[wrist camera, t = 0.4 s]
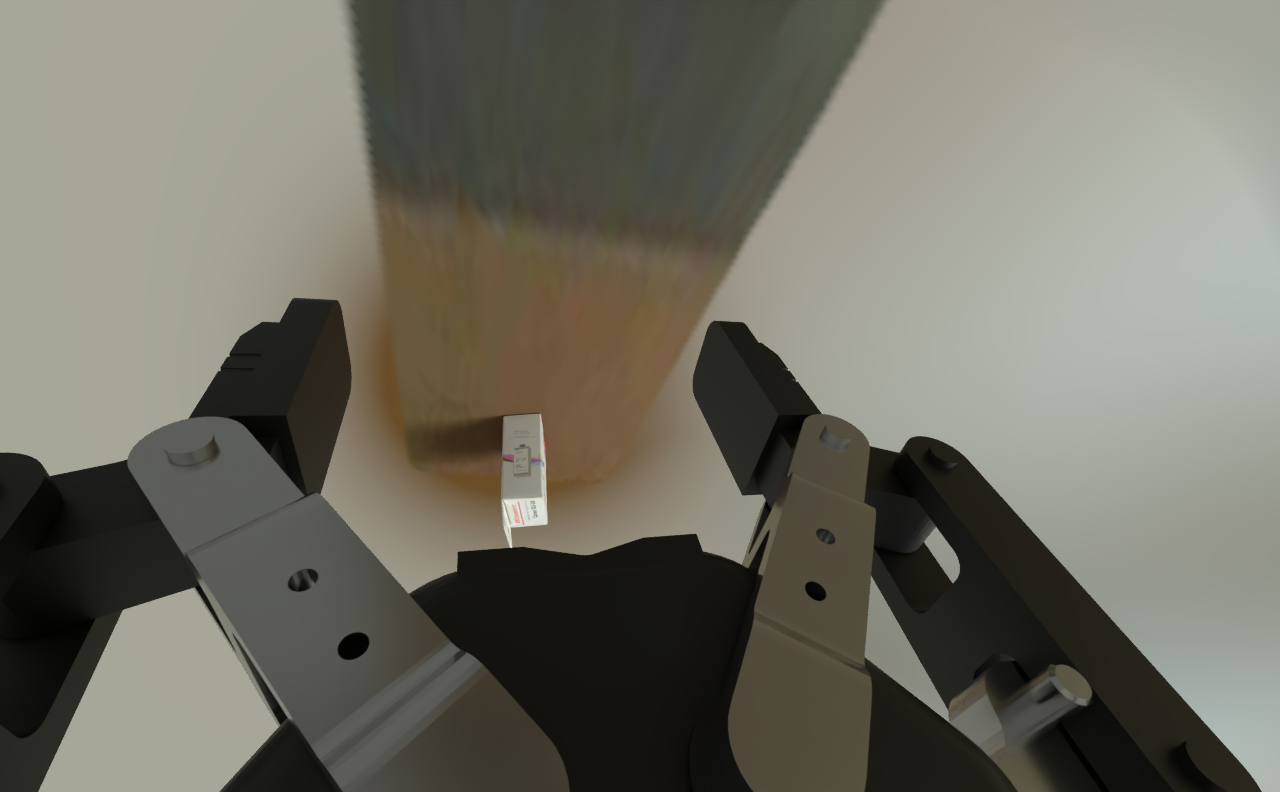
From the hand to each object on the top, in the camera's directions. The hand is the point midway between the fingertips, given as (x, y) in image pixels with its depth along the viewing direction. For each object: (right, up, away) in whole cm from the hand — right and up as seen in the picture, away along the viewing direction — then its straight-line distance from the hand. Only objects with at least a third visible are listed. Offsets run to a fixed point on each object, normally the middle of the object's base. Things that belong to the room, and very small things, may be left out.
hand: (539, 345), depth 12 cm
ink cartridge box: (-13, -6, +59) cm, 60 cm away
